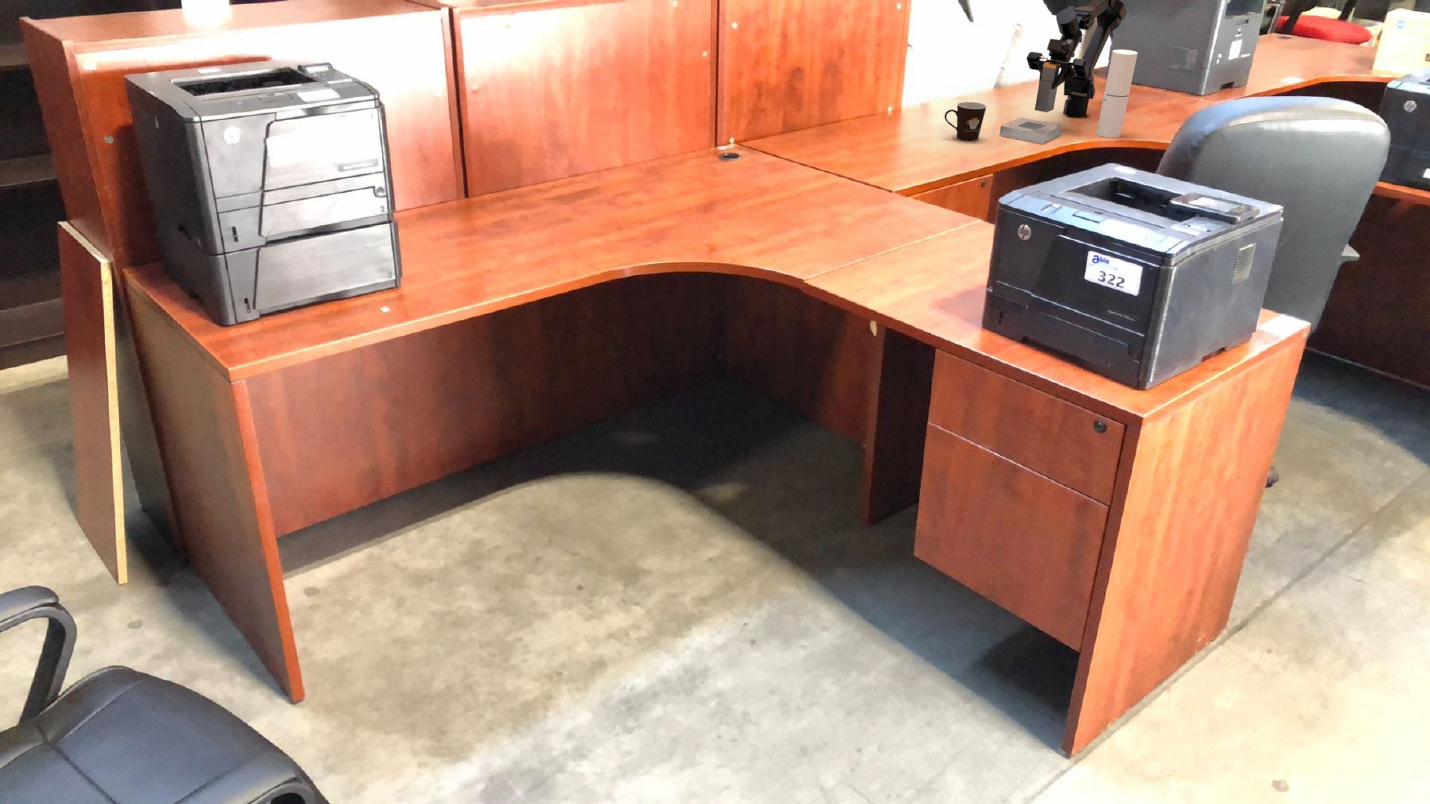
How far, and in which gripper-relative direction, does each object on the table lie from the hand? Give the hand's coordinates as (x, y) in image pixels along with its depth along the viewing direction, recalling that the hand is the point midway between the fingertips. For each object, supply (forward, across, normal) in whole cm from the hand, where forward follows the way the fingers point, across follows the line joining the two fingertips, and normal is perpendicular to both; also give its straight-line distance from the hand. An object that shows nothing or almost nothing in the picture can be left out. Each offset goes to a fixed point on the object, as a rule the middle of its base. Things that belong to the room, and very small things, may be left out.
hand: (1046, 87), depth 320 cm
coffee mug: (+26, -14, -7) cm, 31 cm away
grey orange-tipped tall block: (+4, 0, +6) cm, 7 cm away
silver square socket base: (+14, 0, +5) cm, 15 cm away
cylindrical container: (+2, +18, +18) cm, 25 cm away
